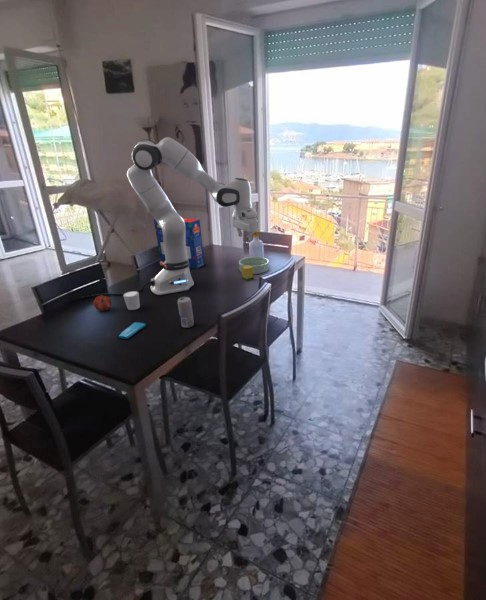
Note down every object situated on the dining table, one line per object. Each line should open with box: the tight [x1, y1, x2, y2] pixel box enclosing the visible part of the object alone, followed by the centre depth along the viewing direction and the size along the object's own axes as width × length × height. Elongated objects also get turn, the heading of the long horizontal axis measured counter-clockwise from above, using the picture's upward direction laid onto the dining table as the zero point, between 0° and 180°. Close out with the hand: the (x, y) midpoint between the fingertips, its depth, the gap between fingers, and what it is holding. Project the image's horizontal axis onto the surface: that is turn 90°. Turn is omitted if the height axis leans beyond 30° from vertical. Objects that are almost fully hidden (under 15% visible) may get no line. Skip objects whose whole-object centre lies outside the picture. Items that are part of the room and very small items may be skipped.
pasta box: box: [153, 217, 205, 270], centre depth 217 cm, size 28×8×28 cm, turn 64°
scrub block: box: [241, 265, 254, 282], centre depth 195 cm, size 4×4×7 cm
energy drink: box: [177, 296, 195, 329], centre depth 147 cm, size 5×5×12 cm
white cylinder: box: [122, 290, 141, 311], centre depth 165 cm, size 7×7×7 cm
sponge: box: [118, 321, 146, 340], centre depth 146 cm, size 2×12×6 cm
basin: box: [238, 256, 270, 275], centre depth 209 cm, size 18×18×5 cm
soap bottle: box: [248, 219, 265, 258], centre depth 223 cm, size 9×9×25 cm
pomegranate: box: [93, 295, 112, 312], centre depth 164 cm, size 7×7×10 cm
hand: (245, 238), depth 186 cm, fingers open, 8 cm apart
